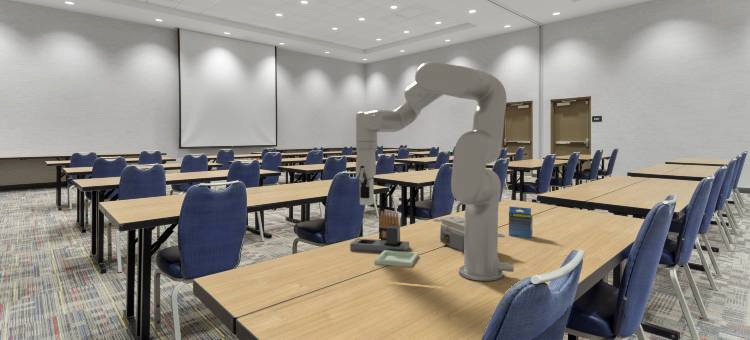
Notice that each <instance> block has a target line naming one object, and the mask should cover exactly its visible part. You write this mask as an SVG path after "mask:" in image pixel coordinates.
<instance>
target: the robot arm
mask: <svg viewBox="0 0 750 340" xmlns="http://www.w3.org/2000/svg"><path fill="white" fill-rule="evenodd" d="M403 94H404V99H405V102H404V103H403V104H402V105H400V106H399V107H398V108H396V109H394V110H387V109H386V110H385V109H375V110H372V111H359V112H357V113H356V116H355V140H356V141H355V144H356V145H355V146H356V147H355V150H356V157H355V158H356V160H355V161H356V162H355V178H356V179H358V181H359V198H360V197H361V198H369V187H368V183H369V178H371V177H372V179H374V178H375V176H376V173H377V170H376V169H377V167H376V164H377V163H376V162H377V161H376V152H377V151H378V133H396V132H400V131H402V130H404V129H405V128H406V127H407V126H409V125H410V124H412V123H413V122H414V121H416V120H417V118H418V117H419V115H420V113H421V111H422V110H424V109H425V108H426V107H428V106H429V105H430V104H432V103H433V102H434V101H436V100H438V99H439V98H440V97H442V96H449V97H454V98H458V99H464V100H472V101H475V102H477V106H476V108H475V111H474V113H473V122H472V123H473V124H472V129H471V131H467V132H464V133H463V134H462V135H461V136H460V137H459V138H458V139H457V141H456V143H455V146H454V149H453V159H452V168H451V170H452V171H451V179H450V188H451V189H450V190H451V193H452V196H453V198H454V199H455V200H456V201H457V202H458V203H460V204H462V205H465V208H464V218H465V227H464V251H463V253H464V254H463V255H464V258H463V263H464V264H463V265H461V266H460V267H459V268H458V274H460V276H462V277H463V278H466V279H468V280H474V281H481V282H482V281H483V282H490V281H497V280H499V279H501V278H502V277H503V274H504V273H503V272H510V273H514V270H515V269H514V264H510V263H509V262H502V261H499V257H498V242H499V241H498V239H499V237H498V234H499V233H498V232H499V228H498V227H499V226H498V223H499V207H500V206H499V205H500V198H501V193H502V192H501V191H502V190H501V189H502V184H501V180H500V177H499V175H498V174H497V173H496V172H495V171H493V170H492V169H489V168H487V165H488V164H491V163H494V162H496V161H497V160H499V157H500V156H501V151H502V145H503V143H502V142H503V137H504V125H505V115H506V107H507V92H506V88H505V86H504V84H503V82H502V81H500V80H499V78H497V77H496V76H494V75H493V74H490V73H488V72H485V71H484V70H480V69H474V68H471V67H469V66H468V67H467V66H463V65H456V64H449V63H443V62H437V61H432V60H431V61H425V62H424V63H422V64H420V65H419V66H418V68H417V70H416V72H415V75H414V82H413V83H411V84H410V85H408V86H407V87H406V88H405V89H404V93H403ZM364 177H367V178H364ZM365 180H366V181H365Z"/></svg>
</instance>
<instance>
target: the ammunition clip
mask: <svg viewBox="0 0 750 340" xmlns="http://www.w3.org/2000/svg"><path fill="white" fill-rule="evenodd" d="M379 219H380V220H379V227H378V240H379V239H381V240H386V228H387V227H388V226H400V222H399V214H398V213H397V212H396V213H395V212H393V213H392V212H391V211H390V212H389V211H387V212H386V210H384V211H383V210H381V211H380V218H379Z"/></svg>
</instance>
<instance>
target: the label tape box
mask: <svg viewBox="0 0 750 340" xmlns="http://www.w3.org/2000/svg"><path fill="white" fill-rule="evenodd" d="M508 210H509V211H508V236H509V237H517V236H518V237H519V238H520V237H521V238H528V239H529V238H530V239H531V238H532V237H533V215H532V208H531V207H519V206H509V209H508ZM519 210H520V211H519Z"/></svg>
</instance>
